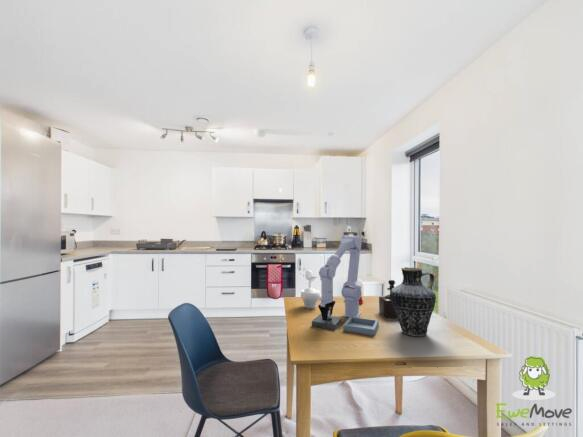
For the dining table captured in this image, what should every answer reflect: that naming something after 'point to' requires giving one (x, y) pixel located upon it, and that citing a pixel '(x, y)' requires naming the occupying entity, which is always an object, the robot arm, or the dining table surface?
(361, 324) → the tray
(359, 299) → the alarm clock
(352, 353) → the dining table surface
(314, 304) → the potted plant
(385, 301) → the dark piece
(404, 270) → the jug
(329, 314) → the pin
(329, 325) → the grey square frame
